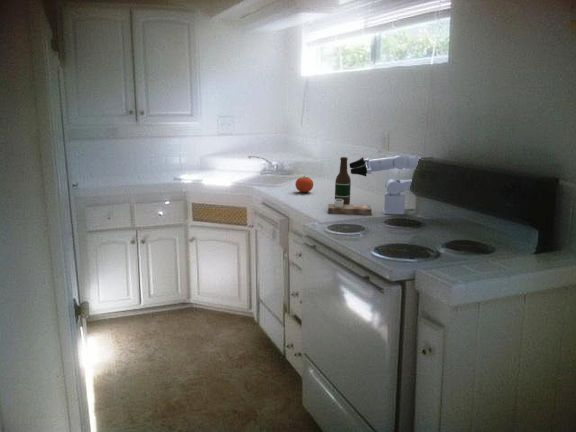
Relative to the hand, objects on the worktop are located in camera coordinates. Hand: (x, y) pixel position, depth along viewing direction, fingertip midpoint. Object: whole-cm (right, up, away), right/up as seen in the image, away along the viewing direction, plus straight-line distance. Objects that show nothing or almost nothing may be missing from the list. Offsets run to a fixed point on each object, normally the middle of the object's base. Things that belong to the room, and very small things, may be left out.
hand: (350, 168), depth 245 cm
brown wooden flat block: (0, -20, +4) cm, 21 cm away
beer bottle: (-2, -17, +21) cm, 27 cm away
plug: (-5, -20, +4) cm, 21 cm away
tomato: (-20, -9, +54) cm, 58 cm away
